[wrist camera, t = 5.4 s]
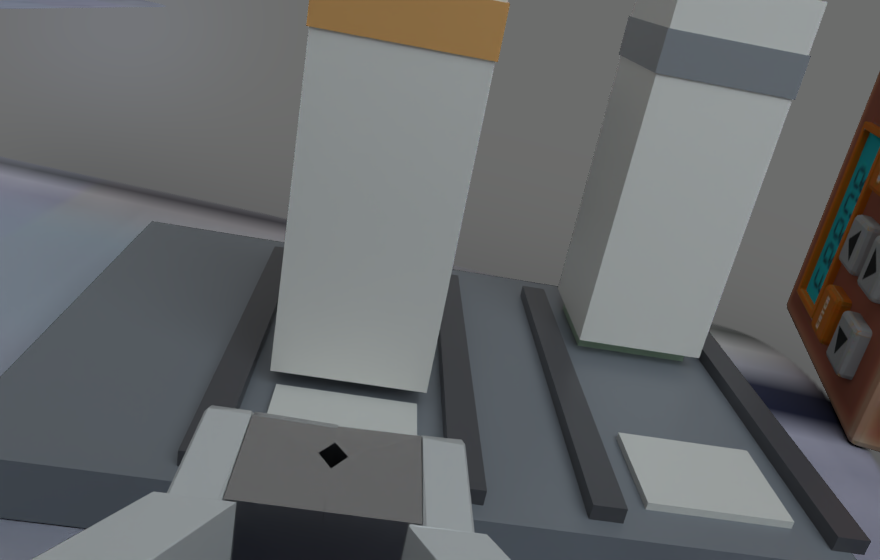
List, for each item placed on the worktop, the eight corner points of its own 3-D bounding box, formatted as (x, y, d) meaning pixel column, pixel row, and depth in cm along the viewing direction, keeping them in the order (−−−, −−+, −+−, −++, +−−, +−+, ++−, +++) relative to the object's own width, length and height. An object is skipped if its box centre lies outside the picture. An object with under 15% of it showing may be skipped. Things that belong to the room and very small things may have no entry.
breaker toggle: (267, 371, 19) (321, -112, 15) (291, 302, 23) (340, -99, 19) (428, 394, 20) (524, -70, 15) (426, 322, 23) (503, -65, 19)
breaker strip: (-66, 510, 16) (-132, -220, 11) (150, 258, 29) (165, -127, 24) (850, 619, 18) (1152, 48, 13) (667, 338, 31) (782, -1, 26)
